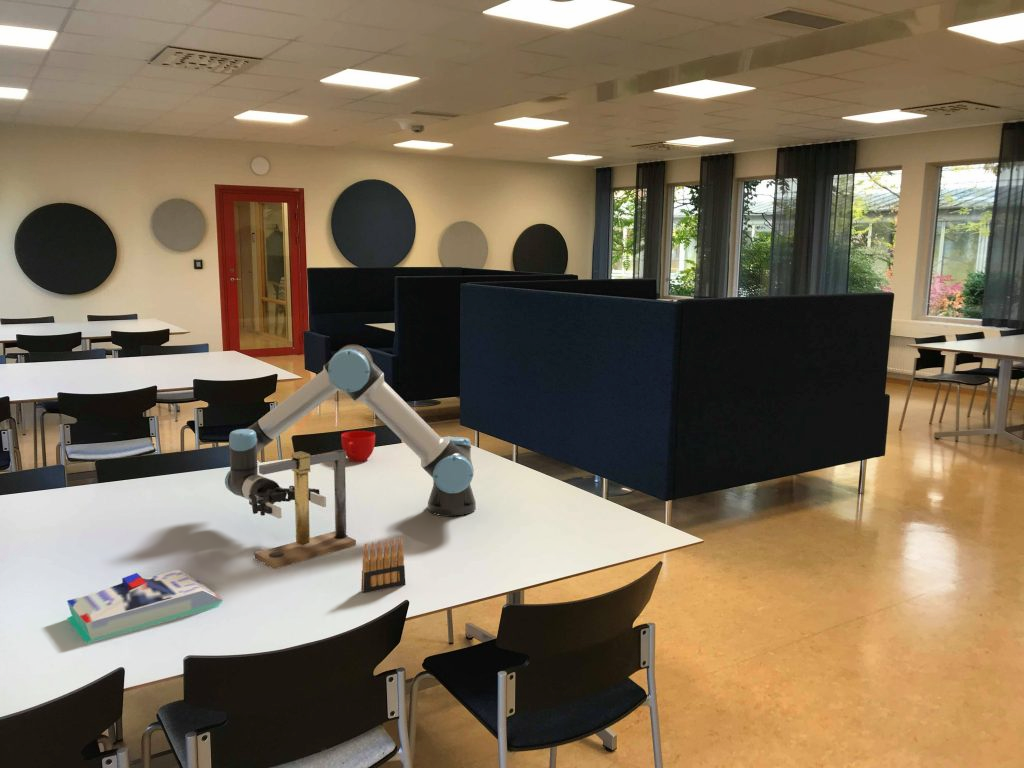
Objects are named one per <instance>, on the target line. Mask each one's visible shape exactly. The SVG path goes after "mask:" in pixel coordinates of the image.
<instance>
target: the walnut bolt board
mask: <svg viewBox="0 0 1024 768" xmlns="http://www.w3.org/2000/svg"><path fill="white" fill-rule="evenodd" d="M354 545H355V546H357V540H356V539H355V538H353V537H350V536H349V535H347V534H346V537H345V538H336V537H335V530H334V531H331V532H327V533H324V534H323V533H322V534H320V535H316V536H312V537H310V542H309V543H307V544H305V545H301V544H297V543H296V541H294V542H290V543H286V544H282V545H278V546H275V547H272V548H268V549H265V550H261V551H257V552H254V553H253V554H254V556H253V557H254V559H255V560H256V559H257V560H256V561H258V560H259V562H260V561H261V562H260V563H262V562H263V563H262V564H264V563H265V564H264V565H266V566H268V567H269V568H271V569H272V570H273V569H274V570H276V569H279V568H282V567H283V568H284V567H286V566H290V565H293V563H294V564H296V563H300V562H302V561H307V560H310V559H314V558H318V557H320V556H324V555H326V554H330V553H334V552H337V551H341V550H345V549H347V548H351V547H355V546H354Z"/></svg>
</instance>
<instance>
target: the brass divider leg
mask: <svg viewBox="0 0 1024 768" xmlns="http://www.w3.org/2000/svg"><path fill="white" fill-rule="evenodd" d="M310 456H311V453H308V452H305V451H301V450H300V451H295V452H291V458H290V459H299V468H295V469H291V471H292V472H293V477H294V478H293V479H294V481H293V482H294V483H293V486H294V487H295V500H294V515H295V516H294V517H295V518H294V520H295V542H296V543H297V544H301V545H305V544H307V543H309V542H310V538H311V535H310V534H311V533H310V532H311V531H310V501H309V488H310V487H309V473H310V472H311V465H310Z"/></svg>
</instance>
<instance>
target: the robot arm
mask: <svg viewBox="0 0 1024 768" xmlns="http://www.w3.org/2000/svg"><path fill="white" fill-rule="evenodd" d="M338 391H341V392H344V393H346V395H347V396H349V397H350V399H352V400H353V401H354V402H361V403H364V405H366V407H368V409H370V410H371V411H372V412H373V413H374V415H375V416H376V417H378V419H380V420H381V421H382V422H383V423H384V424H385V425H386V426H387V427H388V428H389V429H390V430H391V431H392V432H393V434H395V435H396V436H397V437H398V438H399V439H400V440H401V441H402V442H403V443H404V445H407V447H408V448H409V449H410V450H411V451H412V452H413V453H414V454H415V455H416V456H417V457H418V458H419V459H420V466H421V468H422V469H423V470H424V471H425V472H426V474H428V475H429V476H430V477H431V478H432V480H433V482H432V483H433V484H432V485H433V486H432V489H431V492H430V494H429V498H428V500H427V511H428V512H430V513H431V512H432V513H431V514H434V513H435V514H434V515H437V514H439V515H438V516H443V515H450V516H449V517H457V516H456V515H460V516H465V515H464V514H466V515H469V514H471V513H470V512H472V513H474V512H475V511H476V505H477V504H476V499H475V495H474V493H473V489H472V487H471V483H472V481H473V477H474V466H473V462H472V457H471V455H472V454H471V448H472V444H471V440H470V438H468V437H460V436H459V437H458V436H443V437H442V436H440V435H439V434H438V433H437V432H436V431H435V430H434V428H432V427H431V426H430V425H429V424H428V423H427V422H426V421H425V420H424V419H423V418H422V417H421V416H420V415H419V414H418V413H417V412H416V411H415V410H414V409H413V408H412V407H411V406H410V405H409V404H408V403H407V401H405V400H404V399H403V398H402V397H401V396H400V395H399V394H398V393H397V392H396V391H395V390H394V389H393V388H392V387H391V386H390V385H389V384H388V383H387V382H386V381H385V373H384V372H383V371H382V370H381V369H380V368H379V367H378V366H377V365H376V364H375V362H374V360H373V357H372V355H371V353H370V352H369V351H368V350H367V349H366V348H365V347H363V346H361V345H359V344H347V345H345V346H343V347H341V348H340V349H339V350H338V351H337V352H336V353H334V355H333V356H332V357H331V358H330V360H329V361H328V362H327V363H325V364H324V365H323V369H322V371H320V372H319V373H318V374H316V376H314V377H313V378H311V379H310V380H308V382H305V384H304V385H302V386H301V387H300V388H298V389H297V390H296V391H294V392H292V394H291V395H289V396H288V397H286V398H285V399H284V400H283V401H282V402H280V403H279V404H278V405H276V406H275V407H274V408H272V409H271V410H270V411H268V412H267V413H265V415H263V416H262V417H261V418H260V419H258V420H257V421H256V422H254V423H253V424H252V425H250V426H248V427H247V428H239V429H235V430H233V431H231V432H230V433H229V438H228V439H229V441H228V446H229V461H230V467H229V468H230V469H229V471H228V472H227V473H226V475H225V478H224V485H225V487H226V490H228V491H229V492H230V493H232V494H233V495H234V496H238V497H242V498H244V499H246V500H248V505H251V508H252V514H253V515H256V514H258V512H260V516H261V517H263V516H266V514H268V515H270V516H272V517H275V518H277V519H282V508H281V507H280V506H278V505H275V503H281V502H289V503H290V502H291V501H295V487H294V485H289V486H288V488H285V487H281V486H280V485H279V483H278V482H277V481H275V480H273V479H271V478H268V477H265V476H264V475H261V474H259V465H258V454H259V453H260V452H261V450H263V449H264V448H265V447H266V446H268V445H269V444H271V442H273V441H274V440H275V439H277V438H278V437H279V436H280V435H282V434H283V433H284V432H286V431H287V430H288V429H289V428H292V426H294V425H295V424H296V423H298V422H299V421H300V420H301V419H303V418H304V417H306V415H308V414H310V413H311V412H312V411H314V410H315V409H316V408H318V406H320V405H321V404H323V403H324V402H325V401H327V399H329V398H330V397H332V396H333V395H334V394H336V393H337V392H338ZM309 503H313V504H314V505H317V506H319V507H322V508H327V497H326V496H323V494H322V495H321V493H320V489H319V488H318V489H317V488H310V487H309ZM474 510H475V511H474ZM468 513H469V514H468ZM453 515H455V516H453Z"/></svg>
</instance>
